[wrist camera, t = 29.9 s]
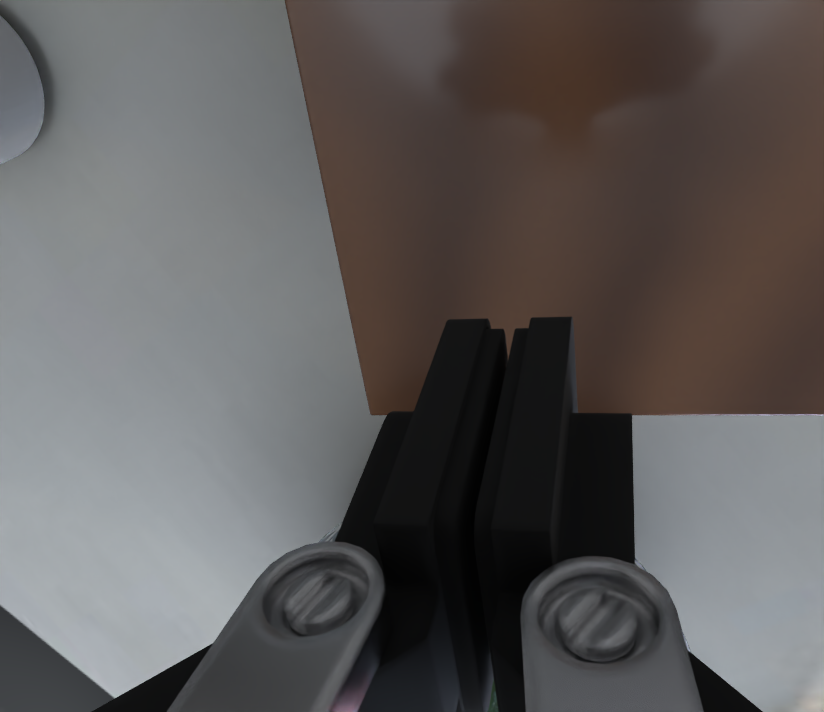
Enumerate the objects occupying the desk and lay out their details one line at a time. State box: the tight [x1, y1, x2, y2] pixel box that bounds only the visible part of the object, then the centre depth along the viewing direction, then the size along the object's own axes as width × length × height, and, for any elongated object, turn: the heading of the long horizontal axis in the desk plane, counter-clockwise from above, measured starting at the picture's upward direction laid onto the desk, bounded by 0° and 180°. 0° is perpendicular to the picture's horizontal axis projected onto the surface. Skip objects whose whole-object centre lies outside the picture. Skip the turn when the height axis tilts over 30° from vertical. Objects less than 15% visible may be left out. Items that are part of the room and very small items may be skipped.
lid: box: [285, 0, 824, 415], centre depth 18 cm, size 15×12×1 cm
